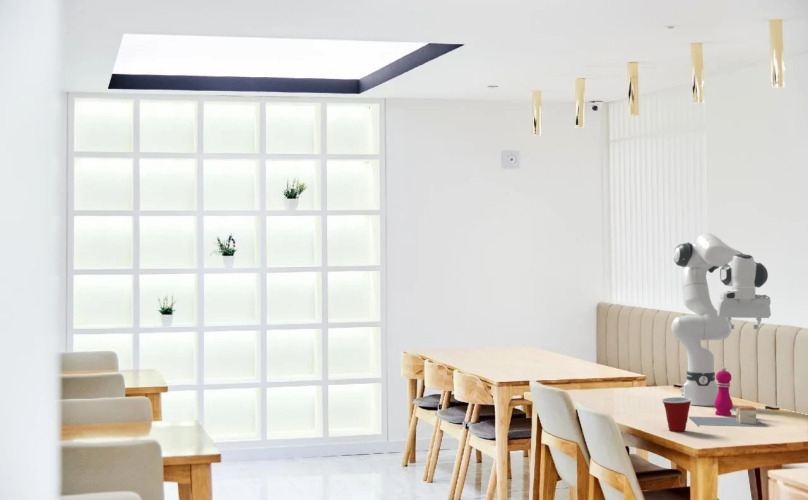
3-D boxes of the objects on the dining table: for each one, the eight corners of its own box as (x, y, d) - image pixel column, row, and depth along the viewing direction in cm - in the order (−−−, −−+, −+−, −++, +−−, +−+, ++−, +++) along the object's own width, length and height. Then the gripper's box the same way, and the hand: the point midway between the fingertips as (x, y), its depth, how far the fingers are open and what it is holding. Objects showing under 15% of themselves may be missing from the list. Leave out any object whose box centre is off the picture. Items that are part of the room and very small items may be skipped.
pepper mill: (720, 417, 387) (721, 368, 387) (710, 414, 394) (710, 366, 394) (736, 417, 389) (736, 367, 389) (725, 414, 396) (726, 365, 396)
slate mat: (688, 417, 386) (688, 416, 386) (755, 419, 383) (755, 418, 383) (698, 426, 366) (698, 425, 366) (768, 428, 363) (768, 427, 363)
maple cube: (736, 420, 377) (736, 405, 377) (752, 421, 376) (752, 405, 377) (740, 423, 371) (740, 407, 371) (756, 423, 371) (756, 408, 371)
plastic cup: (658, 427, 362) (658, 396, 362) (687, 428, 362) (687, 396, 362) (664, 433, 351) (665, 400, 351) (694, 433, 351) (695, 400, 351)
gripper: (768, 294, 387) (768, 329, 386) (716, 294, 388) (716, 328, 388) (772, 294, 380) (772, 329, 380) (719, 294, 382) (720, 329, 381)
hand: (743, 329), depth 384 cm, fingers open, 8 cm apart
